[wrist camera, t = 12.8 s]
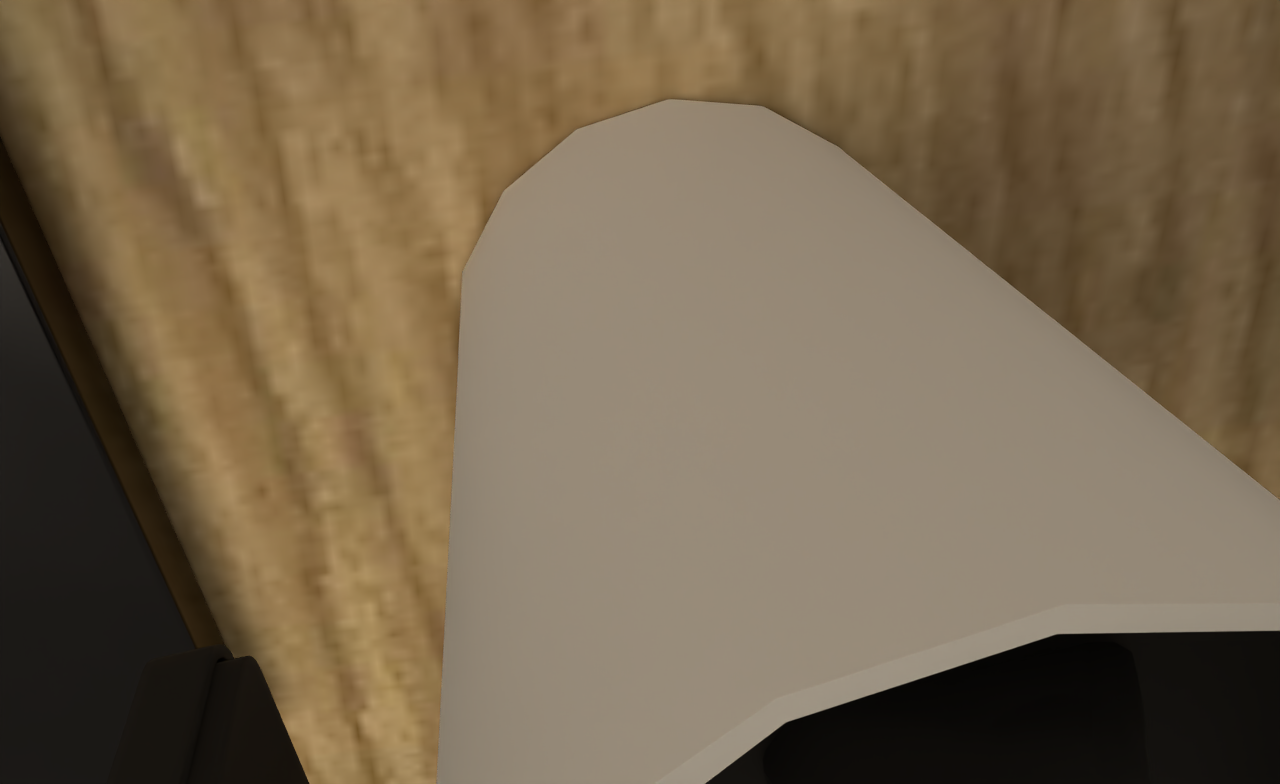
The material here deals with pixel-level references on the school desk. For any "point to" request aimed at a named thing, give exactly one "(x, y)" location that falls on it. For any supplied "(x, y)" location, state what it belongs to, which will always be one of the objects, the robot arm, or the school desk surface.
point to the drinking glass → (820, 498)
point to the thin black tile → (73, 532)
